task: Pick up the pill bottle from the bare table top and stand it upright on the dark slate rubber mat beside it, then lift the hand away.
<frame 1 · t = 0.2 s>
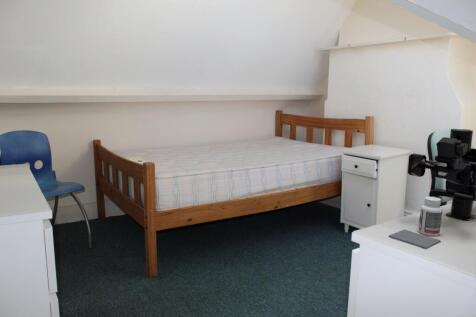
hand: (427, 173, 109), 17 cm above the table, tool horizontal, fingers open, 9 cm apart
pill bottle: (428, 233, 113), on the table
slate mat: (414, 239, 108), on the table
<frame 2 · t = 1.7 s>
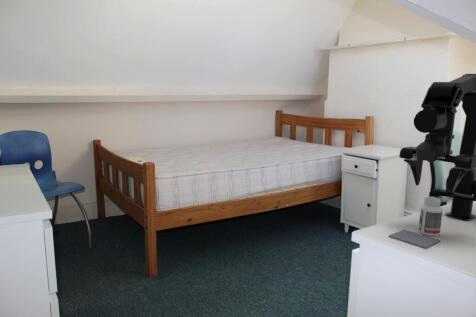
hand: (434, 188, 111), 12 cm above the table, tool pointing down, fingers open, 9 cm apart
nothing on the table moved.
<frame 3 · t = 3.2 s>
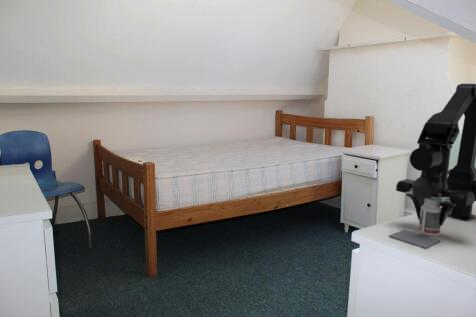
hand: (430, 222, 112), 3 cm above the table, tool pointing down, fingers closed on pill bottle, 5 cm apart
pill bottle: (428, 233, 113), on the table, touching gripper
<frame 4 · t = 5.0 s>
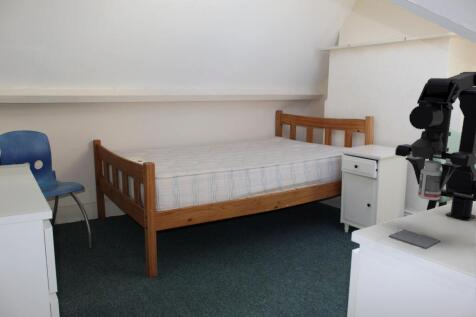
hand: (430, 186, 109), 13 cm above the table, tool pointing down, fingers closed on pill bottle, 5 cm apart
pill bottle: (428, 198, 109), point 10 cm above the table, touching gripper
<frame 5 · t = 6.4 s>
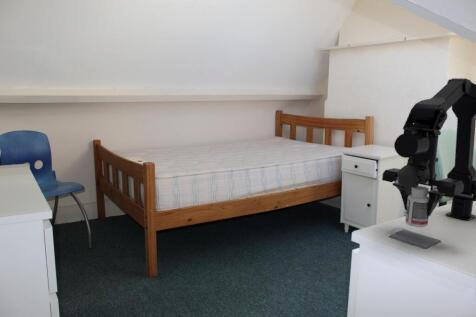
hand: (417, 213, 107), 7 cm above the table, tool pointing down, fingers closed on pill bottle, 5 cm apart
pill bottle: (416, 224, 107), point 4 cm above the table, touching gripper
when the fingers open (4 cm above the table, at t = 7.3 s): pill bottle stays where it is, resting on slate mat.
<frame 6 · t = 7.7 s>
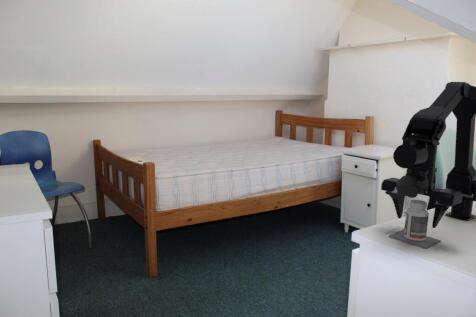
hand: (416, 222, 107), 4 cm above the table, tool pointing down, fingers open, 9 cm apart
pill bottle: (414, 238, 108), resting on slate mat
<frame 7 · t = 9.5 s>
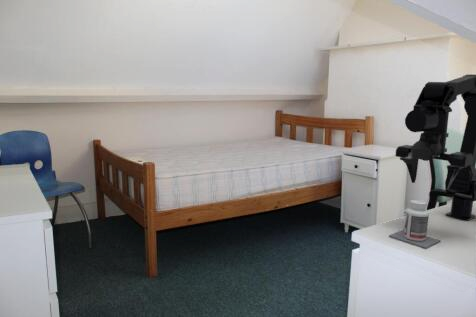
hand: (429, 185, 114), 12 cm above the table, tool pointing down, fingers open, 9 cm apart
nothing on the table moved.
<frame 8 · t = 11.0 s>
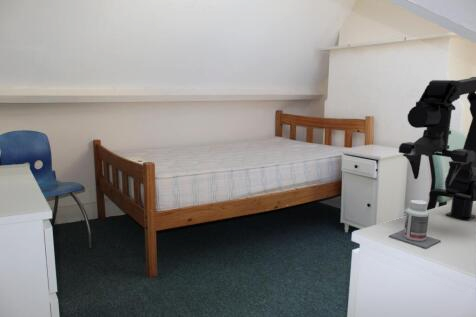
hand: (431, 182, 116), 13 cm above the table, tool pointing down, fingers open, 9 cm apart
nothing on the table moved.
at the end: pill bottle 0.0 cm off-centre on the slate mat, point 0.2 cm above the slate mat's base; pill bottle tilted 0°; the gripper is holding nothing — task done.
